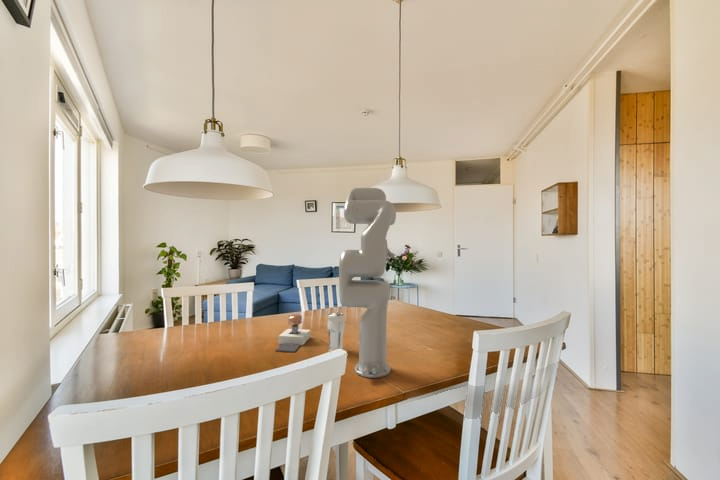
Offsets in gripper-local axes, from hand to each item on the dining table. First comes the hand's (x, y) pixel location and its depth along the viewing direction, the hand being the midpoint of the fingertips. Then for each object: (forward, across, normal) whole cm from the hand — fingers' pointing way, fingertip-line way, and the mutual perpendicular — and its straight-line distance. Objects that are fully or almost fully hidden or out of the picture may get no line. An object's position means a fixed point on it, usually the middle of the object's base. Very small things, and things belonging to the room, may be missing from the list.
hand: (377, 271), depth 153 cm
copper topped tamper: (+31, -35, -18) cm, 50 cm away
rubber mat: (+31, -34, -28) cm, 54 cm away
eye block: (+31, -35, -18) cm, 50 cm away
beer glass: (+31, -14, -27) cm, 43 cm away
